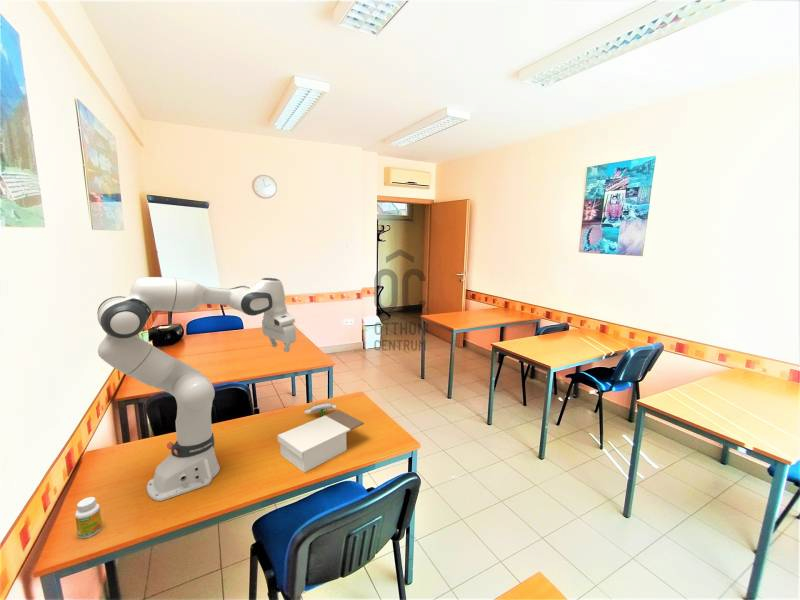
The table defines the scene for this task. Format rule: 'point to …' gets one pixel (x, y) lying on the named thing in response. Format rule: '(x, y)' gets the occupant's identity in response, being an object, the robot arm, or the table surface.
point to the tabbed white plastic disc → (320, 408)
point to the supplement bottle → (88, 518)
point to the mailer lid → (318, 432)
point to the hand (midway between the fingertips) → (280, 349)
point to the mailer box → (316, 453)
